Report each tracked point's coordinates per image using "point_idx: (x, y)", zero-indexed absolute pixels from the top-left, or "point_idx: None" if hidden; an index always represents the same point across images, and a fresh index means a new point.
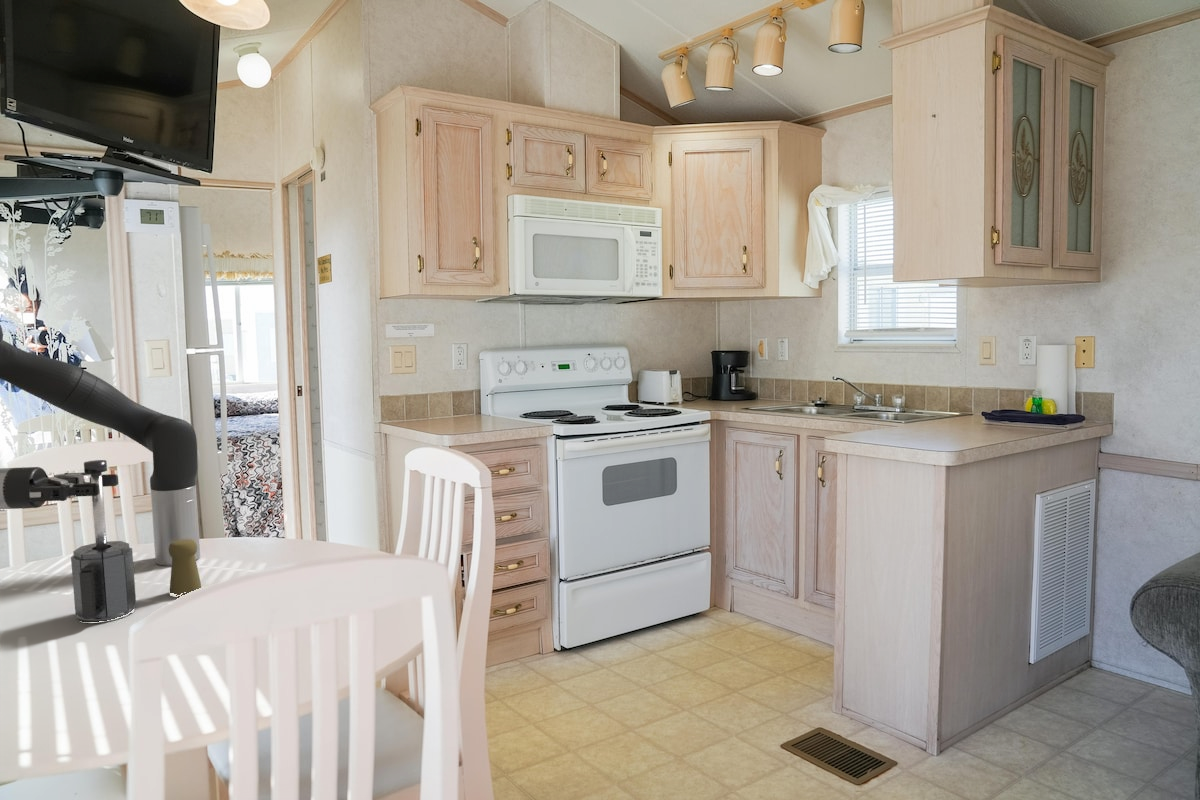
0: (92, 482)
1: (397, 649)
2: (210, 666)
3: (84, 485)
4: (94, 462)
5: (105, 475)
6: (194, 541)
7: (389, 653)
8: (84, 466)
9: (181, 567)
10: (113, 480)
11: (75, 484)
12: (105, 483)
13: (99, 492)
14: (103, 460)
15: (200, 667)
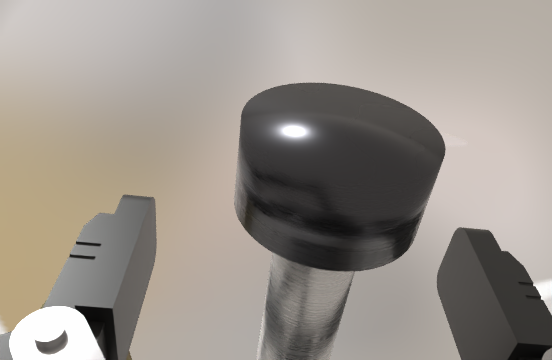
0: (346, 291)
1: (444, 138)
2: (539, 289)
3: (517, 291)
4: (376, 125)
5: (135, 244)
6: None
7: (456, 144)
8: (415, 206)
9: (127, 357)
10: (152, 237)
11: (544, 344)
12: (140, 297)
13: (440, 269)
14: (278, 94)
15: (546, 301)
